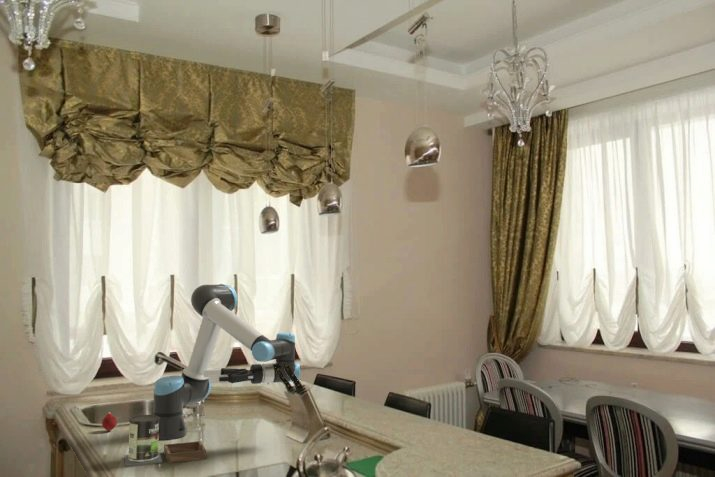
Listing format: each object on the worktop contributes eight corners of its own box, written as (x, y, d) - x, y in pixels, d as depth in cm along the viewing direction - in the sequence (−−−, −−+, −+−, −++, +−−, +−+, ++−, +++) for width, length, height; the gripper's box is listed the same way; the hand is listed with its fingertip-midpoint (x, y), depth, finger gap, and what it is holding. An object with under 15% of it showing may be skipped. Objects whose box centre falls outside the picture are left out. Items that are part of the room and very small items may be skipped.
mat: (124, 457, 221) (124, 455, 221) (158, 453, 226) (158, 451, 226) (126, 467, 210) (126, 464, 210) (162, 463, 215) (162, 460, 215)
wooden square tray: (163, 452, 227) (164, 444, 227) (200, 449, 232) (200, 441, 232) (168, 462, 215) (168, 454, 215) (206, 458, 220) (206, 450, 220)
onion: (118, 429, 260) (119, 410, 260) (113, 433, 254) (114, 413, 254) (104, 429, 259) (105, 410, 260) (99, 433, 254) (100, 413, 254)
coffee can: (163, 454, 222) (165, 415, 222) (148, 463, 212) (149, 422, 212) (138, 452, 224) (139, 413, 225) (121, 461, 214) (123, 420, 215)
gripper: (269, 388, 229) (212, 392, 220) (253, 378, 252) (201, 380, 243) (269, 368, 229) (212, 371, 221) (254, 359, 252) (201, 361, 244)
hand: (206, 376), depth 232 cm, fingers open, 13 cm apart
